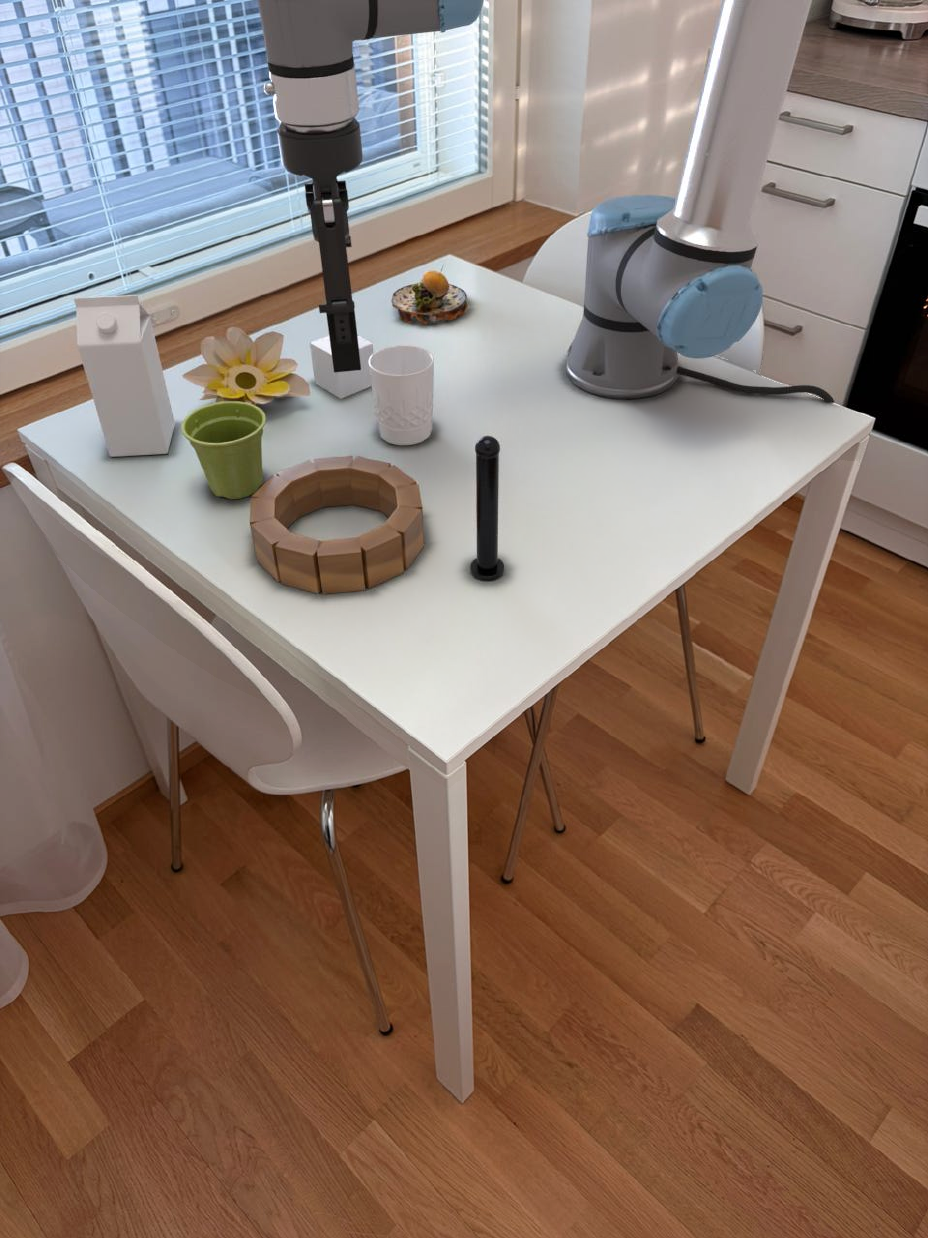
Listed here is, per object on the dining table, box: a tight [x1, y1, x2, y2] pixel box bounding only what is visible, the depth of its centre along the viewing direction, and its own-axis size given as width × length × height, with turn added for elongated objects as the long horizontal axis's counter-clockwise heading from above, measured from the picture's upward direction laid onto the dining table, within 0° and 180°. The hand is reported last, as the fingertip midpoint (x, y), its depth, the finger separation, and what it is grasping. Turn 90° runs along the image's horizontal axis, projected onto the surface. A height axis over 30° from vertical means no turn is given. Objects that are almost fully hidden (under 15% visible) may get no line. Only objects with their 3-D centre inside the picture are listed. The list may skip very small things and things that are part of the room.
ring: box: [249, 455, 425, 595], centre depth 108 cm, size 18×18×5 cm
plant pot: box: [180, 401, 267, 500], centre depth 115 cm, size 9×9×9 cm
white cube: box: [309, 334, 375, 400], centre depth 134 cm, size 6×6×6 cm
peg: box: [469, 435, 505, 582], centre depth 100 cm, size 4×4×16 cm
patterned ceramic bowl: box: [390, 264, 468, 325], centre depth 151 cm, size 12×12×8 cm
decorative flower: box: [181, 325, 312, 406], centre depth 128 cm, size 15×11×10 cm
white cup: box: [369, 344, 435, 446], centre depth 123 cm, size 8×8×10 cm
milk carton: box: [73, 294, 176, 457], centre depth 119 cm, size 7×7×19 cm
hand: (344, 339), depth 104 cm, fingers open, 13 cm apart
